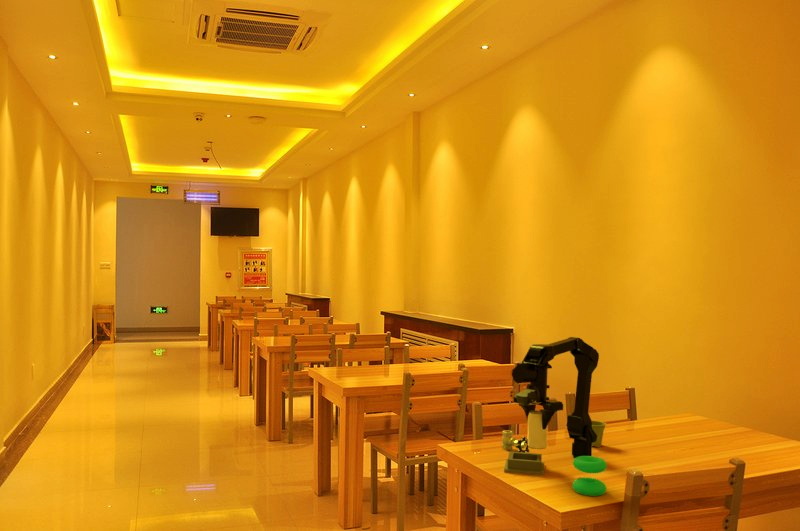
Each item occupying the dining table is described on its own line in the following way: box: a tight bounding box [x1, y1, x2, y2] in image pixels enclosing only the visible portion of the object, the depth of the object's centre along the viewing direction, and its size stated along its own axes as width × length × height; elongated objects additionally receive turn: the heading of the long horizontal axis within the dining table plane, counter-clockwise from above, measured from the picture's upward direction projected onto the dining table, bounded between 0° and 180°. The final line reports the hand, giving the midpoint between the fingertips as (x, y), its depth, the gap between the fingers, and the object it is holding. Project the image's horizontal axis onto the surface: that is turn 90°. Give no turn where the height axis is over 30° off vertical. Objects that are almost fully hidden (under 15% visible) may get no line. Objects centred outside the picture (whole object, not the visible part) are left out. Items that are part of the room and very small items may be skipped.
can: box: [527, 410, 548, 450], centre depth 237 cm, size 6×6×12 cm
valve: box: [501, 429, 530, 453], centre depth 258 cm, size 7×7×12 cm
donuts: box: [571, 455, 608, 497], centre depth 211 cm, size 10×10×10 cm
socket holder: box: [503, 450, 545, 476], centre depth 234 cm, size 13×13×4 cm
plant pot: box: [592, 420, 607, 448], centre depth 270 cm, size 9×9×9 cm
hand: (536, 427), depth 237 cm, fingers closed on can, 6 cm apart
